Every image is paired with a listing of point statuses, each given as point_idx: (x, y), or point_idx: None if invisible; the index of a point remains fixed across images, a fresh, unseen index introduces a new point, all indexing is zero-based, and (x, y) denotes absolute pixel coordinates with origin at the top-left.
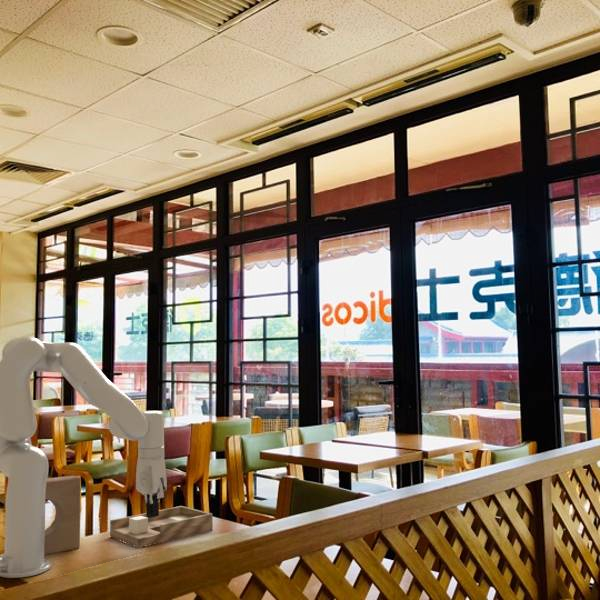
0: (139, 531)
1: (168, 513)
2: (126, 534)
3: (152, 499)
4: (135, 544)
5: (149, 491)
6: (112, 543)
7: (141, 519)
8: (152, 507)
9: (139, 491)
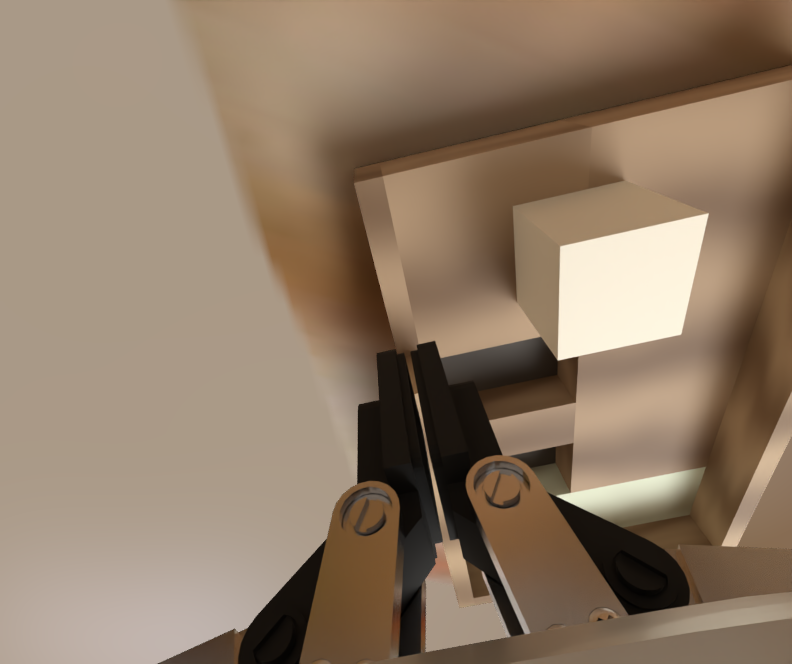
0: (518, 241)
1: (719, 486)
2: (570, 132)
3: (325, 572)
4: (411, 158)
5: None
6: (625, 9)
7: (558, 301)
8: (367, 458)
9: (733, 617)
